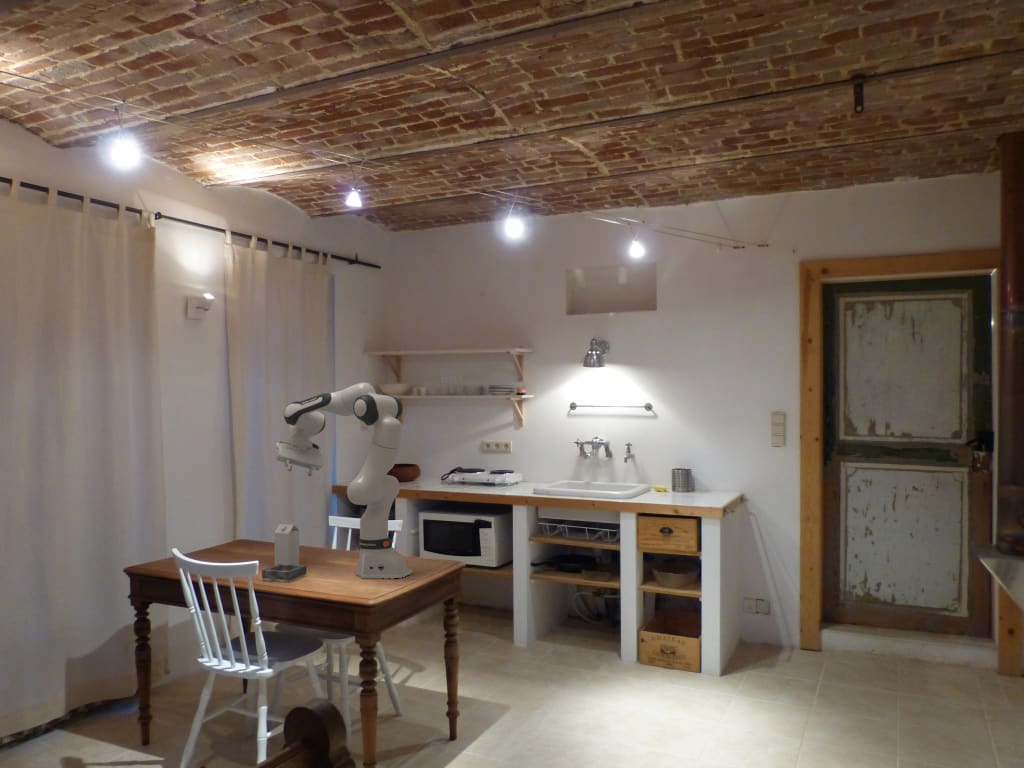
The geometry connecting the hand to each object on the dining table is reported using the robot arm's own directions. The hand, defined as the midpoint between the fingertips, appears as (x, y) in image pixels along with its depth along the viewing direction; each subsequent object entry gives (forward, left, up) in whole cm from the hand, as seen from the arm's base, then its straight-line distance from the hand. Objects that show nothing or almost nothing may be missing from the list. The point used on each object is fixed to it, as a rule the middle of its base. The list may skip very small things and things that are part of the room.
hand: (299, 473), depth 318 cm
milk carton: (+5, +2, -39) cm, 40 cm away
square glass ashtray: (-5, +19, -39) cm, 44 cm away
